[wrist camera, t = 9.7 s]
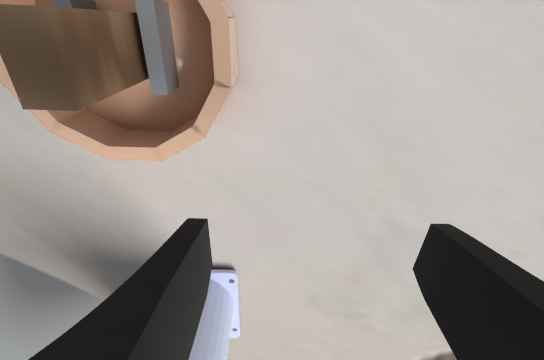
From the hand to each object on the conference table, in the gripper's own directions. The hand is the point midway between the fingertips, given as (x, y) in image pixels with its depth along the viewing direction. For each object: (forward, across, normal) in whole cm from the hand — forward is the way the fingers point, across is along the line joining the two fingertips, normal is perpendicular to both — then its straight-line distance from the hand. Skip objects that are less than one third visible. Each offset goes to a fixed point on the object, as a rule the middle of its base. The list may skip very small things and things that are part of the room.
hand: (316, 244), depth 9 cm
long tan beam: (+9, +9, -5) cm, 14 cm away
